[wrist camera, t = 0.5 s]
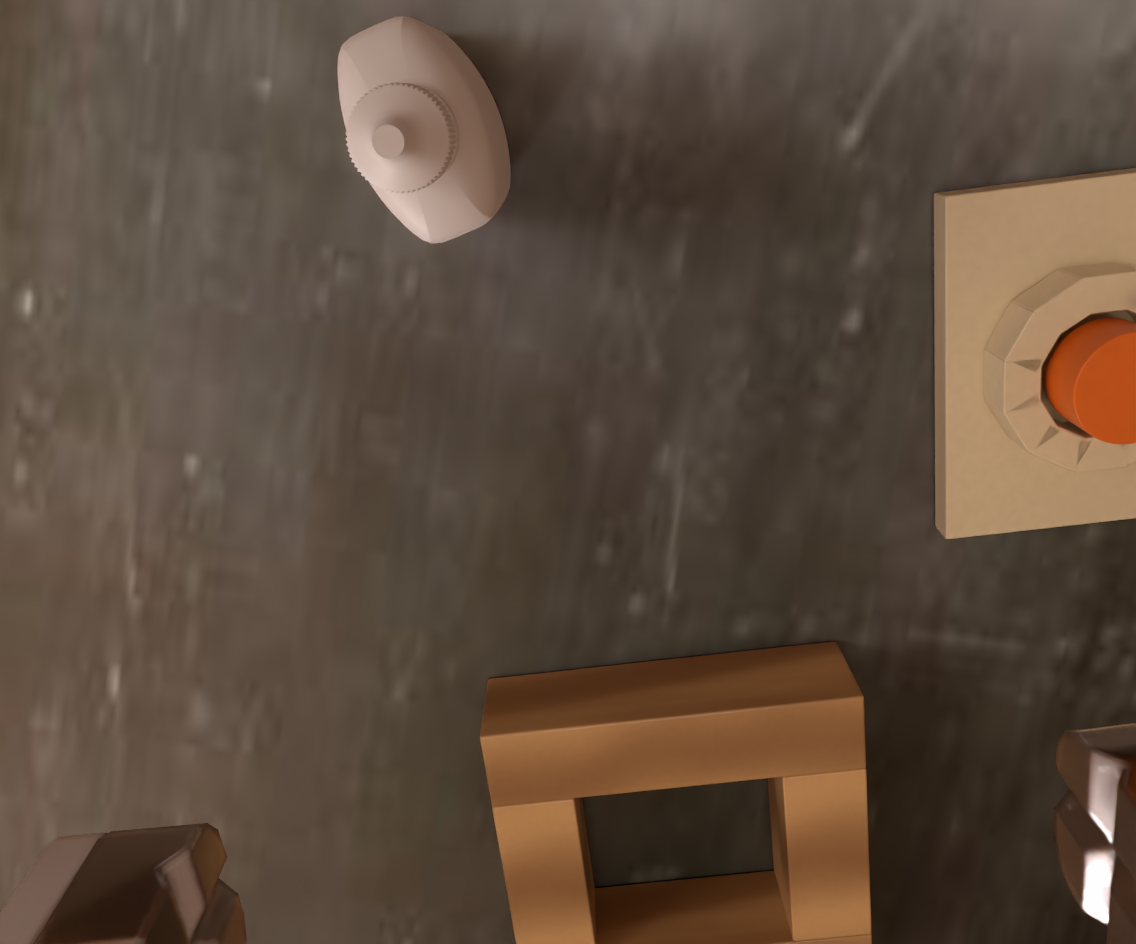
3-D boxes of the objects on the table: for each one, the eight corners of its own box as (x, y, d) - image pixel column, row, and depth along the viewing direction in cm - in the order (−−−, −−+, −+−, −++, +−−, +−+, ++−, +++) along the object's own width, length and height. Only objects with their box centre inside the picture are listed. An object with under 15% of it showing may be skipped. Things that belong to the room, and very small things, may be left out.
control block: (933, 192, 34) (965, 201, 32) (1211, 157, 34) (1269, 163, 31) (934, 526, 38) (963, 561, 36) (1183, 498, 38) (1233, 531, 35)
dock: (487, 677, 41) (479, 737, 37) (836, 640, 40) (864, 696, 36) (533, 949, 45) (530, 1027, 41) (848, 919, 45) (874, 995, 41)
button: (1046, 324, 33) (1075, 338, 31) (1160, 310, 33) (1197, 323, 31) (1042, 431, 35) (1071, 451, 33) (1153, 418, 34) (1188, 438, 32)
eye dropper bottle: (376, 207, 35) (283, 261, 23) (385, 23, 33) (288, -14, 21) (507, 222, 35) (478, 283, 23) (524, 40, 33) (502, 12, 22)
